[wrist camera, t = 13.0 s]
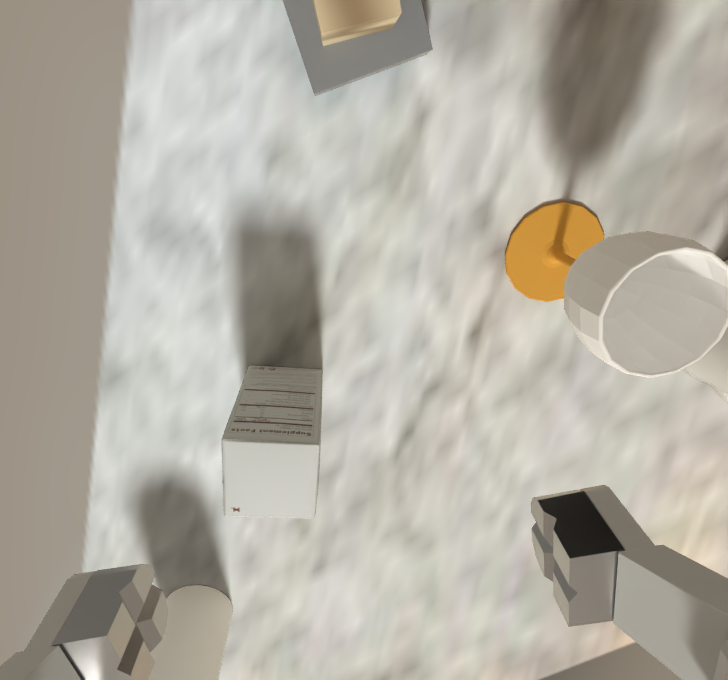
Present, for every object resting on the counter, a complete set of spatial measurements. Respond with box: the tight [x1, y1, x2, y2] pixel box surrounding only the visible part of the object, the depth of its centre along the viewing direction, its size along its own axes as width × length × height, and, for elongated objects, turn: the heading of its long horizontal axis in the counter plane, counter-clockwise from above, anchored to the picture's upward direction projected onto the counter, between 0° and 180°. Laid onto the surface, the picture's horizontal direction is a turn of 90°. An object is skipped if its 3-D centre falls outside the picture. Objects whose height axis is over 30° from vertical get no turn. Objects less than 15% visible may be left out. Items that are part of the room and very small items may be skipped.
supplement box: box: [221, 365, 323, 518], centre depth 42 cm, size 7×7×13 cm
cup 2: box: [505, 202, 728, 378], centre depth 36 cm, size 9×9×16 cm
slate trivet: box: [283, 0, 433, 96], centre depth 34 cm, size 9×9×3 cm
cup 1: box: [149, 585, 233, 680], centre depth 51 cm, size 8×8×16 cm
